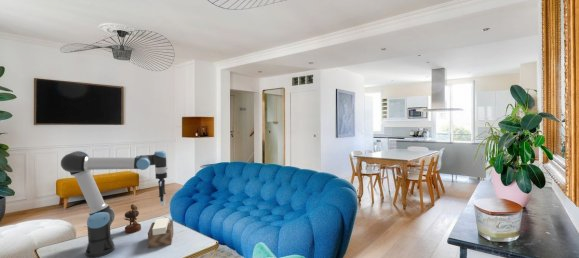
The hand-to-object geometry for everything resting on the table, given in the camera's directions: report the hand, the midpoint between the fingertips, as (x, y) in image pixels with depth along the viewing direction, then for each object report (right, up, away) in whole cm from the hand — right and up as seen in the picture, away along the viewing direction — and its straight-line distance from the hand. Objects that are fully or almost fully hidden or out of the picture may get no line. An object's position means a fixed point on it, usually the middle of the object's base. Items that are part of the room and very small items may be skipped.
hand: (162, 204), depth 200 cm
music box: (-25, -21, +6) cm, 34 cm away
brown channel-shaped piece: (+5, -21, -12) cm, 25 cm away
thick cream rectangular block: (+5, -13, -13) cm, 19 cm away
